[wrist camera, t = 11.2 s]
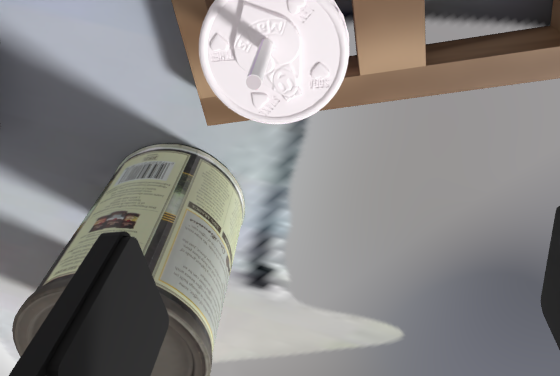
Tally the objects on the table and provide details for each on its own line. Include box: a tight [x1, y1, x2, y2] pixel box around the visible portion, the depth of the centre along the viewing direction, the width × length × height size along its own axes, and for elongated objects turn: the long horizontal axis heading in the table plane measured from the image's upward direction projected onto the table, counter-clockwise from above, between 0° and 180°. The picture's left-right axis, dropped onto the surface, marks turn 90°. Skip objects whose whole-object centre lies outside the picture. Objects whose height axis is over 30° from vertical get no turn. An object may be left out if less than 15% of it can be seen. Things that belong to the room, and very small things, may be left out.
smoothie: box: [199, 0, 349, 124], centre depth 22 cm, size 6×6×14 cm
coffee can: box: [12, 144, 245, 376], centre depth 31 cm, size 10×10×14 cm
